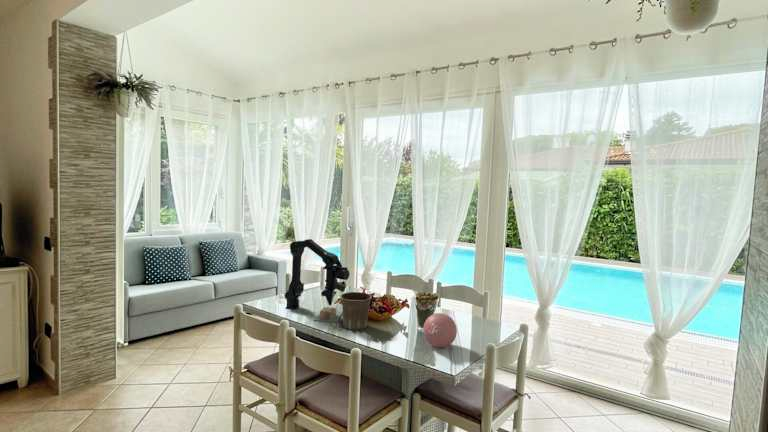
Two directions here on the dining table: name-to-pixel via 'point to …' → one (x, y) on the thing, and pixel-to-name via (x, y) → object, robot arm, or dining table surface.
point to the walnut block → (328, 313)
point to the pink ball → (440, 330)
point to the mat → (329, 320)
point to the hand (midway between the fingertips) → (330, 305)
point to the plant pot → (355, 310)
